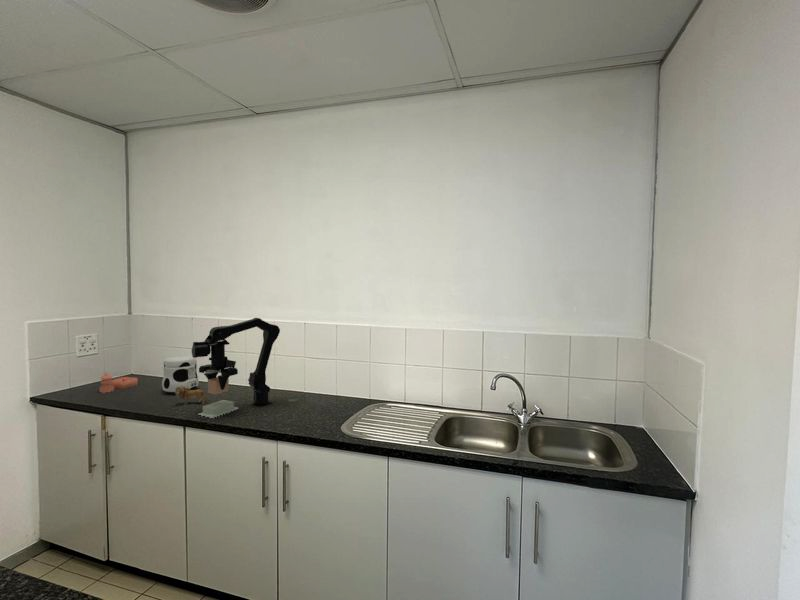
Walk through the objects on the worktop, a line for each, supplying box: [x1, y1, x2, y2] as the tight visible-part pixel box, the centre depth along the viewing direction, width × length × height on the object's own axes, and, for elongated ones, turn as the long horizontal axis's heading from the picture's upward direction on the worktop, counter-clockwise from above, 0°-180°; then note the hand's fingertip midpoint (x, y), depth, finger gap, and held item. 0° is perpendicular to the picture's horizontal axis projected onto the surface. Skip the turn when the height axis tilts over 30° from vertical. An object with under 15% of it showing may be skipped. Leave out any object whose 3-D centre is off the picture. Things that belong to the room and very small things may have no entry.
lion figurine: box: [174, 386, 210, 406], centre depth 191 cm, size 15×5×9 cm, turn 110°
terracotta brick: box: [207, 376, 230, 395], centre depth 178 cm, size 5×7×6 cm
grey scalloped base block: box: [198, 399, 239, 419], centre depth 179 cm, size 9×14×4 cm, turn 155°
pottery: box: [98, 372, 139, 394], centre depth 216 cm, size 18×10×10 cm, turn 168°
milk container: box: [161, 355, 199, 394], centre depth 212 cm, size 17×17×18 cm
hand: (218, 388), depth 179 cm, fingers closed on terracotta brick, 5 cm apart
